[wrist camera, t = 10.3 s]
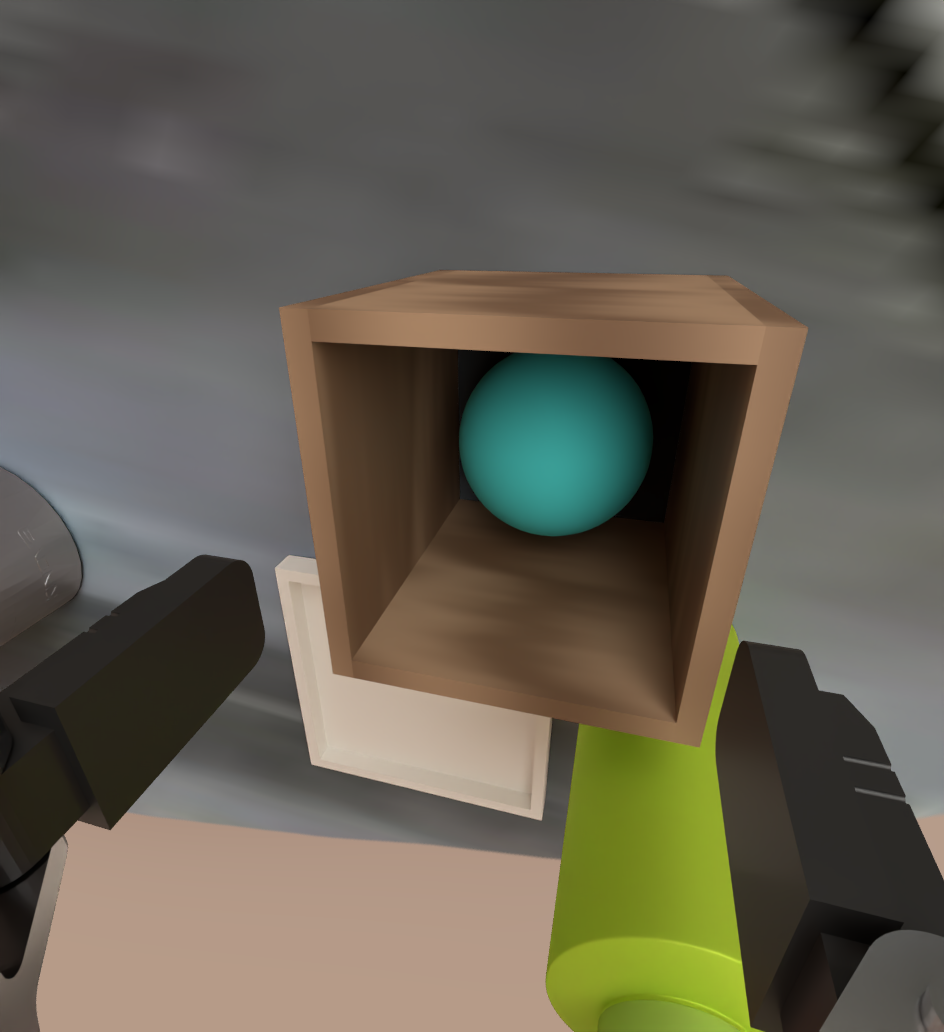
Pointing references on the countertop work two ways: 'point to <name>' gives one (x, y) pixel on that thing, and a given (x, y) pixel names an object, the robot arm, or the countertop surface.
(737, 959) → the soap dispenser
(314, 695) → the dish
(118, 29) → the countertop surface
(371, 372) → the box
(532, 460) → the ball
